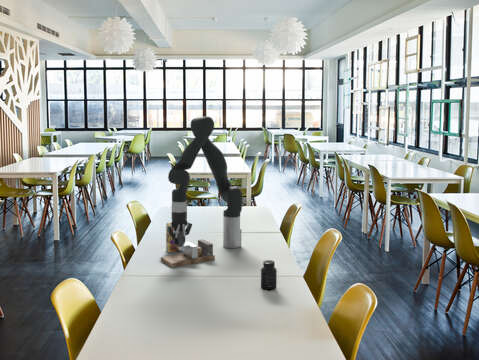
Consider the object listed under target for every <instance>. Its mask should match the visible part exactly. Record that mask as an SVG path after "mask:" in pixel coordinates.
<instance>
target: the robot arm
mask: <svg viewBox="0 0 479 360" xmlns="http://www.w3.org/2000/svg"><path fill="white" fill-rule="evenodd" d="M190 129H191V132H192V135H193V137H194V138H193V139H192V140H191V142H190V143H188V144H187V146H186V147H185V148H184V149H183V151H182V153H181V155H180V158H179V159H178V161H177V162H176V163H175V164H174V165H173V166H172V167H171V169H170V170H169V172H168V177H167V179H168V182H170V184H175V185H178V188H174V189H172V191H171V206H170V207H171V222H170V223H171V225H169V226H166V225H165V226H166V227H165V228H167V230H168V233H169V235H170V236H171V237H173V238H174V244H175V245H178V238H177V237H178V233H179V231H180V230H183V233H184V243H185V242H186V236H188V235H189V234H190V232H191V229H192V227H193V223H191V222H188V220H187V219H188V205H187V204H188V203H187V193H188V188H189V185H190V179H191V177H190V173H189V172H188V171H187V170H190V169H192V167H193V165H194V164H195V163H194V162H195V161H196V158H197V157H198V154H199V152H200V151H202V153H203V155H204V157H205V159H206V163H207V165H208V168H209V169H210V171H211V174H212V175H213V177H214V180H215V183H216V185H217V189H218V193H219V195H220V198H221V199H222V201H223V202H225V203H227V208H226V209H224V210H223V211H222V212H223V213H222V214H223V215H222V216H223V217H222V218H223V222H222V223H223V225H222V226H223V227H222V231H223V233H222V236H223V237H222V239H223V240H222V247H224V248H225V249H238V248H241V247H242V234H243V233H242V229H241V213H242V210H243V192H242V189H240V188H239V187H236V186H232V184H231V182H230V180H229V178H228V163H227V161H226V158H225V156H224V154H223V152H222V151H221V150H220V149H219V148H218V146H216V145H215V144H214V142H212V141H211V139H210V136H211V134H212V133H213V131H214V129H215V121H214V119H213V118H212V117H210V116H199V117H198V116H197V117H195V118H193V119H191V121H190ZM172 227H173V228H174V230H173V232H174V233H173V232H172V230H171V229H172Z"/></svg>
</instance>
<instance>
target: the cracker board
mask: <svg viewBox="0 0 479 360" xmlns="http://www.w3.org/2000/svg"><path fill="white" fill-rule="evenodd" d="M197 246H198V247H201V256H198V258H194V259H192V258H190V257H188V256H186V255H185V254H183V252H181V253H177V254H171V255H165V256H161V257H160V262H162V263H164V264H165V265H167V266H169V267H170V268H179V267H184V266H188V265H193V264H199V263H203V262H208V261H214V260H215V259H216V257H215V256H216V255H215V254H214V244H213V243H212V242H209V241H208V240H205V239H197Z"/></svg>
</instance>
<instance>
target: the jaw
mask: <svg viewBox="0 0 479 360" xmlns="http://www.w3.org/2000/svg"><path fill="white" fill-rule="evenodd" d="M177 238H178V245H175V246H177V247H178V249H179V250H181V251H182V253H183V254H185V255H186V256H188V257H190V258H192V259H194V258H198V244H194V243H193V242H190V241H185V243H184V233H183V230H180V231H179V233H178V237H177Z"/></svg>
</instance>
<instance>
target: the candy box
mask: <svg viewBox="0 0 479 360" xmlns="http://www.w3.org/2000/svg"><path fill="white" fill-rule="evenodd" d="M169 225H171V222H168V223H166V225H165V226H169ZM165 228H166V227H165ZM171 230H172V232H173V230H174V228H173V227H172V229H171ZM165 233H166V234H165V241H166V242H165V251H166V252H168V253H173V252H181V251H182V250H179V249H178V247H177V246H175V244H174V238H173V237H171V236H170V235H169V233H168V230H167V228H166V229H165ZM173 233H174V232H173Z"/></svg>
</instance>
